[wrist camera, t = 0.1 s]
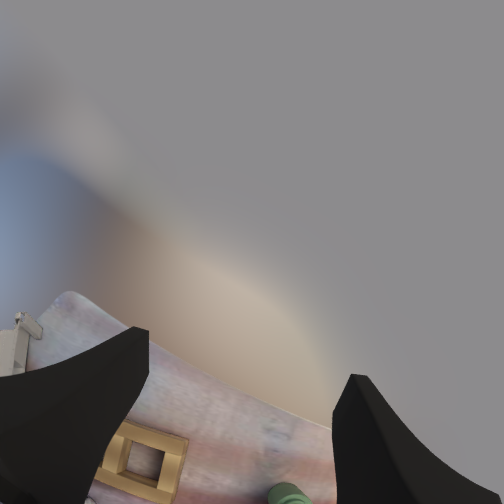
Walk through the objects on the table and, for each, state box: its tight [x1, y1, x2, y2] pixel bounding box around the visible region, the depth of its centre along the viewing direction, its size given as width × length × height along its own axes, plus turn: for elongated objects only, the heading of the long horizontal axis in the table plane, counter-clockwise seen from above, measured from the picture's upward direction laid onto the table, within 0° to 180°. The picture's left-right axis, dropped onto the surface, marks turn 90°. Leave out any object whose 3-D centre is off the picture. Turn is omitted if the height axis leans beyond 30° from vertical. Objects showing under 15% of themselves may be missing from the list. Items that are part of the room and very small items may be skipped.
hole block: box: [94, 419, 189, 504], centre depth 32 cm, size 9×17×4 cm, turn 78°
